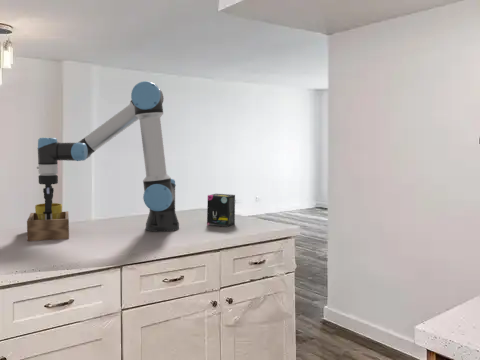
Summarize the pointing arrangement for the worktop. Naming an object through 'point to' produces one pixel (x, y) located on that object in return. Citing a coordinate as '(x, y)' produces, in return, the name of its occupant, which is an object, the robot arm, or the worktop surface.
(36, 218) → the open wooden box
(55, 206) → the plant pot
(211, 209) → the tampon box
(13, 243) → the worktop surface
